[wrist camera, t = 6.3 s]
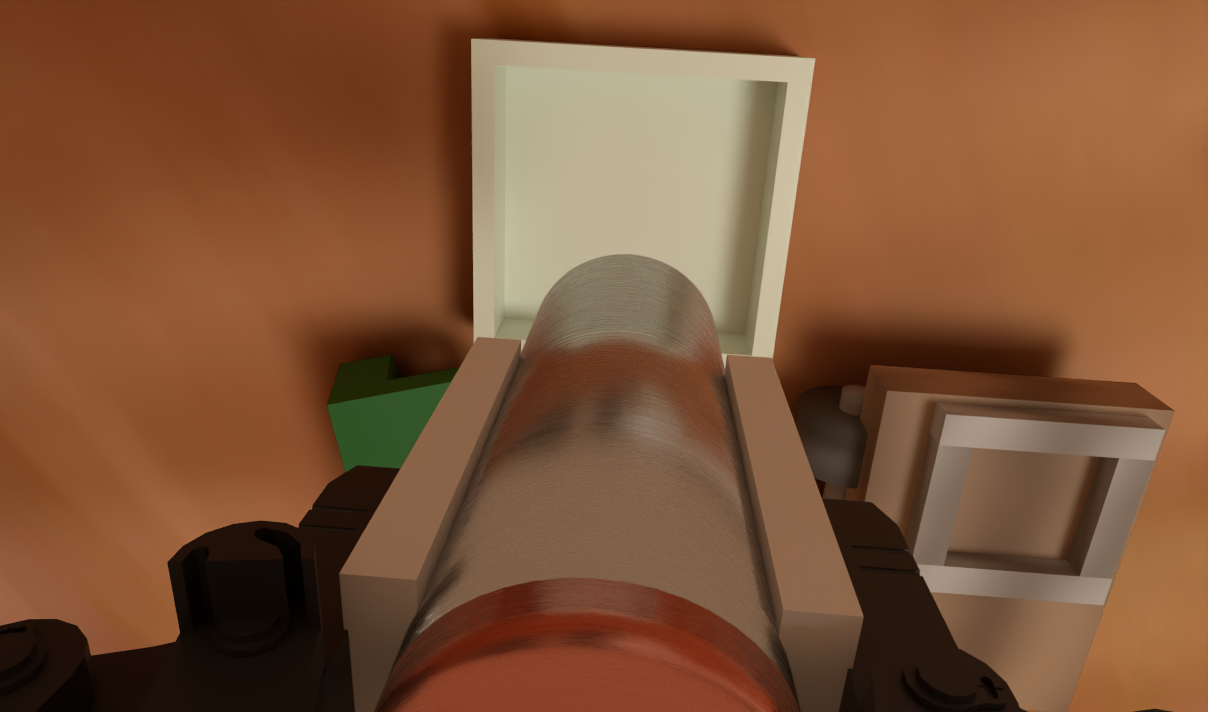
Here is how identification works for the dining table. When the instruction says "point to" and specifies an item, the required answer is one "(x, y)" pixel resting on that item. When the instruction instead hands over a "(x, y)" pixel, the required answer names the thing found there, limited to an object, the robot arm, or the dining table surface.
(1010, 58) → the dining table surface
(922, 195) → the dining table surface
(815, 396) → the trolley
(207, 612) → the robot arm
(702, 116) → the tray
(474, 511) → the pin
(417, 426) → the clamp
